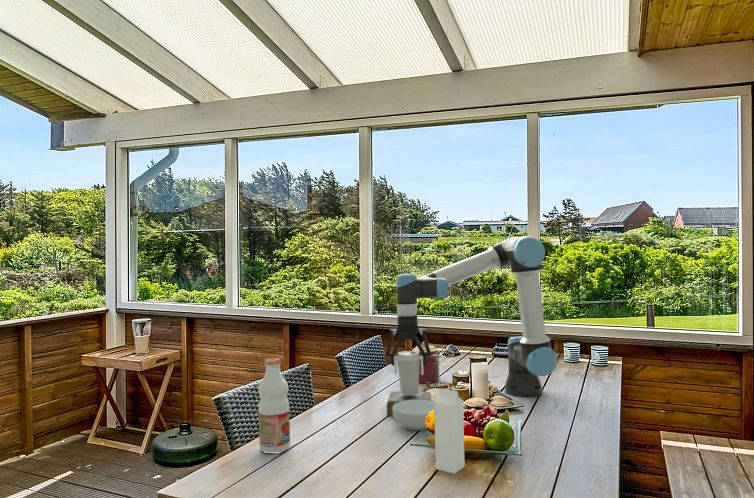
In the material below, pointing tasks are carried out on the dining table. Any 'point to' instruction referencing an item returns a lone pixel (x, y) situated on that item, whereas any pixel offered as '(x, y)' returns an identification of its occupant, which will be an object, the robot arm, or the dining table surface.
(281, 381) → the fruit juice
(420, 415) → the cereal bowl
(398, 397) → the grey flat block
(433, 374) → the canister
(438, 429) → the milk
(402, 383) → the coffee cup
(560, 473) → the dining table surface
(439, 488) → the dining table surface
